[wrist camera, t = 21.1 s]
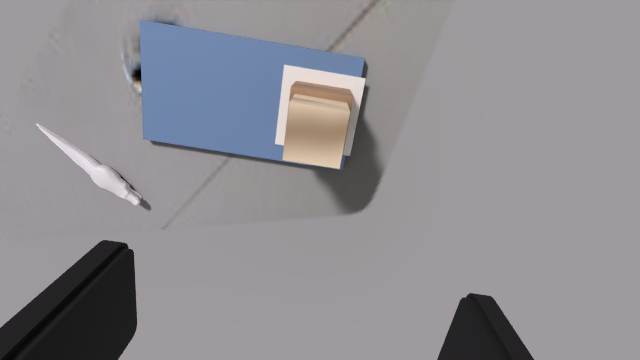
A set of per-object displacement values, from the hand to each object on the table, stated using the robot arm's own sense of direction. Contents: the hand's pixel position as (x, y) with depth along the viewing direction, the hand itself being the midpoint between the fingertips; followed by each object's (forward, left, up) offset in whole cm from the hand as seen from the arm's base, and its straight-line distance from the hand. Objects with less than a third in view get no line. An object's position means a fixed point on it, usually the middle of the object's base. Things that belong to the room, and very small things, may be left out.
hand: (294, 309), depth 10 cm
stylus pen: (+25, -15, -33) cm, 44 cm away
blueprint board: (+5, -6, -32) cm, 33 cm away
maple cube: (0, 0, -25) cm, 25 cm away
